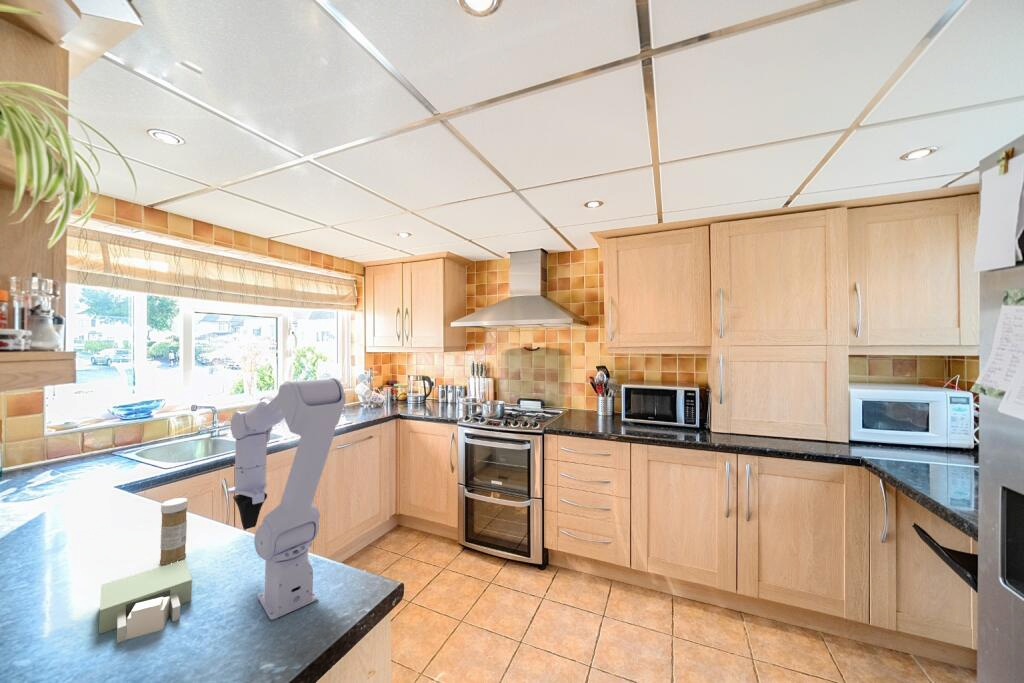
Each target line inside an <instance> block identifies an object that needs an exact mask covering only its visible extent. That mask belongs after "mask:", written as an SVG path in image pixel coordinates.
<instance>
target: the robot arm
mask: <svg viewBox="0 0 1024 683" xmlns="http://www.w3.org/2000/svg"><path fill="white" fill-rule="evenodd" d="M346 400H347V398H346V394H345V390H344V388H343V385H342V383H341V382H340V380H338V378H336V377H330V378H329V379H313V380H298V381H293V380H287V381H284V382H283V383H282V384H280V385H279V388H278V394H276V396H274V397H270V396H267V397H266V396H265V397H261V398H260V399H259V402H258V403H256V404H255V405H252V406H251V407H250V408H249V409H248V410H246V411H235V413H233V414H232V416H231V420H230V432H231V434H232V437H233V438H234V439H235V455H234V457H235V458H234V459H235V460H234V486H233V487H229V488H227V493H228V494H229V495H231V494H235V495H233V497H232V498H233V500H234V502H235V503H236V505H237V508H238V511H239V515H240V522H241V524H242V528H243V529H244V530H248V529H251V528H255V527H256V526H257V523H258V519H259V516H260V512H261V510H262V507H263V505H264V503H265V501H266V499H267V498H268V493H266V492H265V491H266V488H267V486H268V482H267V450H268V449H267V448H268V443H269V442H270V439H271V432H272V431H273V427H274V426H276V425H277V424H278V423H281V422H282V421H283V419H284V420H285V423H286V425H287V427H288V430H289V432H290V433H292V434H294V435H298V436H300V439H299V441H298V445H297V448H296V450H295V453H294V457H293V461H292V465H291V468H290V471H289V475H288V477H287V481H286V484H285V487H284V491H283V493H282V496H281V500H280V503H279V505H277V506H276V507H275V508H273V510H271V511H270V512H268V513H267V514H266V515H265V516H264V517H263V520H262V522H261V524H260V525H259V526H258V527H257V529H256V531H255V534H254V539H253V540H254V541H253V542H254V548H255V549H254V550H255V551H256V554H257V556H258V557H259V558H261V559H262V560H264V561H265V564H264V566H265V567H264V570H265V573H264V591H263V592H260V593H258V594H257V600H259V602H260V604H261V606H262V608H263V609H264V611H265V613H266V614H267V617H268V618H269V620H270V621H271V620H272V621H274V620H275V619H278V618H280V617H282V616H285V615H287V614H288V613H291V612H293V611H296V610H298V609H300V608H302V607H303V608H304V607H305V606H306V605H308V604H311V603H314V602H315V601H317V600H318V598H319V596H318V595H317V594H316V592H314V590H313V588H314V585H313V584H314V569H313V566H312V564H311V563H310V562H309V548H310V547H312V546H313V541H314V540H316V538H317V536H318V534H319V532H320V531H319V529H320V518H321V513H320V511H319V509H318V508H317V506H316V504H315V503H314V501H313V500H314V498H315V495H316V491H317V488H318V486H319V482H320V479H321V476H322V473H323V471H324V467H325V464H326V461H327V458H328V455H329V452H330V450H331V446H332V443H333V440H334V436H335V431H336V427H337V425H338V424H339V422H340V420H341V415H342V413H343V411H344V408H345V407H344V406H345V404H346V402H347V401H346Z"/></svg>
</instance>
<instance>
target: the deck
mask: <svg viewBox="0 0 1024 683" xmlns="http://www.w3.org/2000/svg"><path fill="white" fill-rule="evenodd" d="M100 586H101V587H100V603H99V621H98V622H99V626H98V635H101V634H103V633H106V631H107V632H108V631H112V630H114V629H116V643H117V644H118V643H121V642H125V641H126V626H127V618H128V616H129V614H130V613H131V611H132V609H133V607H134V606H135V604H136V603H140V602H144V601H148V600H152V599H156V598H160V597H164V598H165V597H169V596H170V600H169V613H170V617H171V621H172V622H173V623H174V622H176V621H178V620H181V605H182V604H185V603H188V602H191V601H192V597H193V596H192V594H193V593H192V589H193V588H192V587H193V579H192V574H191V573H190V569H189V566H188V564H187V560H186V559H182V560H180V561H178V562H175V563H172V564H164V565H163V566H159V567H156V568H152V569H149V570H146V571H141V572H138V573H135V574H133V575H129V576H126V577H122V578H120V579H119V578H118V579H115V580H113V581H110V582H106V583H103V584H101V585H100Z"/></svg>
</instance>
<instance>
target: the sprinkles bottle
mask: <svg viewBox="0 0 1024 683" xmlns="http://www.w3.org/2000/svg"><path fill="white" fill-rule="evenodd" d="M188 500H189V499H188V498H185V497H179V498H178V497H177V498H172V499H169V500H165V501H163V503H161V506H160V507H161V508H160V512H161V526H160V528H161V530H160V532H161V533H160V559H159V563H160V564H161V565H168V564H171V563H175V562H177V561H179V560H180V561H182V560H184V559H185V558H186V555H187V553H186V544H187V527H188V526H187V524H188V523H187V522H188V520H187V509H188V503H189V501H188ZM181 559H182V560H181Z"/></svg>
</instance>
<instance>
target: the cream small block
mask: <svg viewBox="0 0 1024 683" xmlns="http://www.w3.org/2000/svg"><path fill="white" fill-rule="evenodd" d="M169 600H170V596H169V597H165V598H164V597H160V598H156V599H152V600H148V601H144V602H140V603H136V604H135V606H134V607H133V609H132V611H131V613H130V614H129V616H128V618H127V624H126V640H130V639H134V638H138V637H140V636H144V635H148V634H151V633H155V632H159V631H162V630H164V628H165V626H166V623H167V621H168V618H169V617H170V609H169ZM126 640H125V641H126Z"/></svg>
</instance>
